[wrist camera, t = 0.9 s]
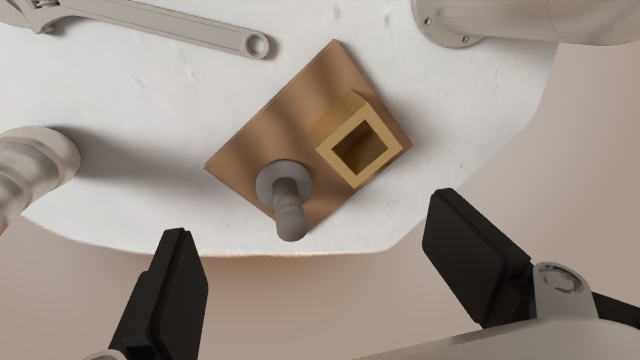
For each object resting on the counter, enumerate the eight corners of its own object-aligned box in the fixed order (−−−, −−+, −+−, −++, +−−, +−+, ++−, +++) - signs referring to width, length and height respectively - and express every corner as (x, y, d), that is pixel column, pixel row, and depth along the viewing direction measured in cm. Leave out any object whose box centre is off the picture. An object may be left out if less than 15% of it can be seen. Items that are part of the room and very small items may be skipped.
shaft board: (333, 39, 32) (367, 49, 23) (408, 140, 40) (455, 179, 31) (205, 163, 36) (189, 215, 27) (298, 232, 44) (310, 290, 35)
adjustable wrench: (271, 33, 31) (272, 35, 29) (257, 92, 34) (258, 96, 32) (-44, -78, 23) (-65, -84, 21) (-28, 12, 25) (-46, 12, 24)
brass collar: (349, 88, 33) (367, 102, 28) (382, 129, 37) (403, 148, 32) (305, 129, 35) (314, 149, 30) (340, 165, 38) (354, 188, 33)
